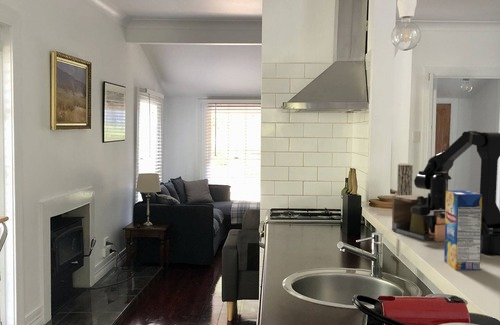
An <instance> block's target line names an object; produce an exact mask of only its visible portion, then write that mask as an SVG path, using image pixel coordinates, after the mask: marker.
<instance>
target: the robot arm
mask: <svg viewBox="0 0 500 325" xmlns="http://www.w3.org/2000/svg"><path fill="white" fill-rule="evenodd" d="M472 146H476V153H477V155H478V156H479V158H480V160H481V161H480V178H479V179H480V181H479V182H480V183H479V194H482V214H481V251H480V254H484V255H487V256H494V255H495V256H496V255H500V209H499V206H498V205H497V202H496V201H497V181H498V180H497V179H498V178H497V177H498V163H499V162H498V161H499V158H500V132H495V131H494V132H488V131H487V132H486V131H485V132H483V131H482V132H481V131H478V130H465V131H463V132H462V134H461V136H459V137H458V138H457V139H455V141H454V142H452V144H450V145H449V146H448V147H447V148H446V149H445V150H444V151H443V152H440V153H438V154H435V155H433V156H431V157H430V158H429V159H428V162H427V164H426V166H425V168H424V169H423V170H419V171H418V174H417V175H415V177H414V180H413V181H414V182H413V183H414V185H415V188H418V189H422V190H423V189H424V190H426V191H427V190H429V192H428V193H427V196H426V197H427V198H424V197H423V196H424V195H421V196H419V197H417V204H418V205H421V206H414V207H413V208H412V213H414V214H418V215H422V216H424V217H425V218H426V220H427V223H428V225H429V228H430V231H431V233H434V229H435V221H436V216H435V215H434V212H438V213H439V215H440V216H439V217H441V218H445V208H446V190H447V188H448V184H447V183H448V180H450V181H451V180H452V177H451V176H450V175H449V174H448V172H449V171H450V170H451V169H452V167H453V166H454V162H455V161H456V159H458V158H460V156H461V155H462V154H464V152H466V151H468V149H469V148H470V147H472Z"/></svg>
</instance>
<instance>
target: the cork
mask: <svg viewBox="0 0 500 325" xmlns="http://www.w3.org/2000/svg"><path fill="white" fill-rule="evenodd" d="M414 206H420V205H414ZM414 206H412V207H411V213H412V208H413V207H414ZM409 231H412V232H416V233H420V234H423V235H426V232H425V229H424V220H423V216H422V215H418V214H414V213H412V217H411V224H410V230H409Z"/></svg>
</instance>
